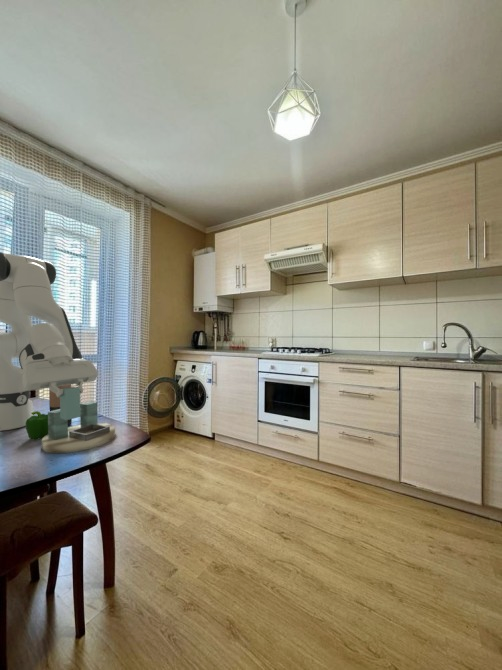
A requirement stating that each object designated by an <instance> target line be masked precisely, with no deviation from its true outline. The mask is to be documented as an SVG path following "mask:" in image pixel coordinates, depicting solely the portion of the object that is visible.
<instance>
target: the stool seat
mask: <svg viewBox="0 0 502 670" xmlns="http://www.w3.org/2000/svg"><path fill="white" fill-rule="evenodd" d="M47 415H48V435H46V436H45V437H43V438H41V450H42V451H43V452H45V453H49V454H68V453H69V454H70V453H77V452H81V451H86V450H87V451H88V450H89V449H93V448H96V447H97V448H98V447H99V446H100V447H101V446H102V445H104V444H106V443H109V442H110V441H112V440H113V439H114V438H115V437H116V427H115V425H113V424H112V423H111V424H110V423H105V422H98V421H99V420H98V402H96V401H87V402H83V403H80V417H79V418H80V424H77V425H72V426H71V425H70V426H68V420H64V419H62V418H60V409H58V410H53V411H50V410H49V411H47Z"/></svg>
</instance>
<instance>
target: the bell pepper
mask: <svg viewBox="0 0 502 670" xmlns="http://www.w3.org/2000/svg"><path fill="white" fill-rule="evenodd" d="M31 414H32V415H34V416H31V417H30V418H29V419H27V421H26V426H25V430H26V434H27V436H28V438H29V439H30V440H32V441H37V440H40V439H43V437H45V436H46V435H48V414H46V413H41V412H40V411H38V410H37V411H34V412H32V413H31Z"/></svg>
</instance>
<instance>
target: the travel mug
mask: <svg viewBox="0 0 502 670" xmlns="http://www.w3.org/2000/svg"><path fill="white" fill-rule="evenodd" d="M70 387H72V384H71V385H64V386H57V388H59V389H63V388H70ZM48 393H49V403H48V405H49V411H53V410H58V409H60V397H57V396H56V393H54V392H52V391H50V390H49V391H48ZM71 425H72V419H69V420H68V427H71Z"/></svg>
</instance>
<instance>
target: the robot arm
mask: <svg viewBox="0 0 502 670" xmlns="http://www.w3.org/2000/svg"><path fill="white" fill-rule="evenodd" d="M56 278H57V269H56V267H55V265H54V264H53V262H50V261H47V260H45V259H39V258H36V257H32V256H27V255H19V254H14V253H13V254H10V253H3V252H1V251H0V322H2V323H3V324H6V325H8V326H10V329H11V332H0V432H1V431H9V430H14V429H18V428H23V427H26V421H27V419H29V418H30V417H31V416H35V414H34V415H32V414H31V413H32V412H35V411H34V405H33V404H34V403H33V401H32V400H30V398H31V391H37V390H42V389H44V390H45V389H49V390H50V391H52V392H54V393H56V396H57V397H62V396H63V395H64V392H63V389H59V388H57V386H64V385H71V386H72V385H76V387H77V388H80V394H83V392H84V388H83V384H84V383H90V382H94V381H96V379H97V378H98V376H99V371H98V369H97V368H96V366H95V365H94V364H93V362H92V360H90V359H87V358H83V356H82V352H81V351H80V349H79V347H78V345H77V343H76V340H75V336H74V333H73V331H72V327H71V324H70V322H69V319H68V316H67V314H66V311H65V309H64V308H63V307H61V306H59V304H58V303H57V302H56V300H55V299H54V297H53V292H52V286H51V285H52V284H54V282H55V281H56ZM31 317H33V318H34V319H35V318H36V319H39V320H41V321H43V322H42V323H37V324H35V325H34V324H33V322H32V319H31ZM12 359H18V361H19V365H20V366H17V365H14V363H13V362H12Z"/></svg>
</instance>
